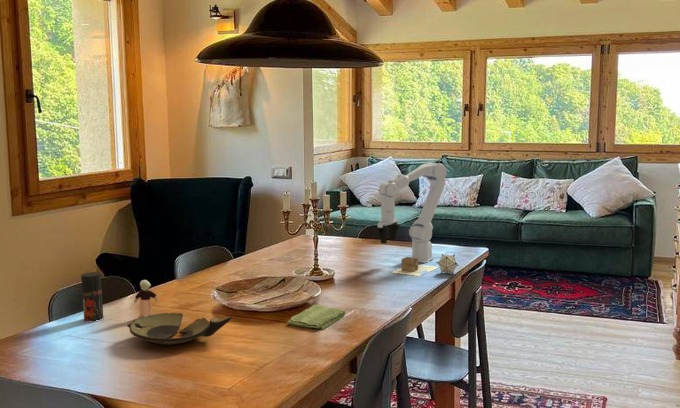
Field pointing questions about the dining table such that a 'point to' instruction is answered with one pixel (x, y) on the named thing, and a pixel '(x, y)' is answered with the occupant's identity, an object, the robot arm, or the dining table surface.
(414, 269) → the walnut block
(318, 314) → the washcloth
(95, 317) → the deodorant
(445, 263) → the game die
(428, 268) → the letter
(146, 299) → the grandmother figurine
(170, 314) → the oil lamp
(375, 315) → the dining table surface
